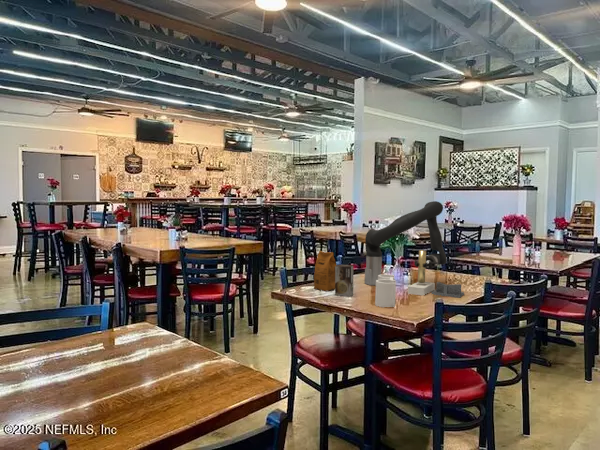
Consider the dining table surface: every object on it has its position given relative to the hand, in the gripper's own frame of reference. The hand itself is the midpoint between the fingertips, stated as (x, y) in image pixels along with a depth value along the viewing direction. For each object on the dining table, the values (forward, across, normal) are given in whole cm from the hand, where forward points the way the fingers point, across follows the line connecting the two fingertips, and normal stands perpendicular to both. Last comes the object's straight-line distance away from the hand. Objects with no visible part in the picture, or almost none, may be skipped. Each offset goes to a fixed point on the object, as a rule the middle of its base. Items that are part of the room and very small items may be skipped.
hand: (420, 265), depth 256 cm
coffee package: (+24, -48, +16) cm, 56 cm away
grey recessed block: (-3, 0, +15) cm, 16 cm away
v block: (-3, +15, +15) cm, 22 cm away
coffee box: (+31, -32, +16) cm, 47 cm away
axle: (-3, 0, +10) cm, 10 cm away
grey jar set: (+33, -7, +16) cm, 37 cm away
